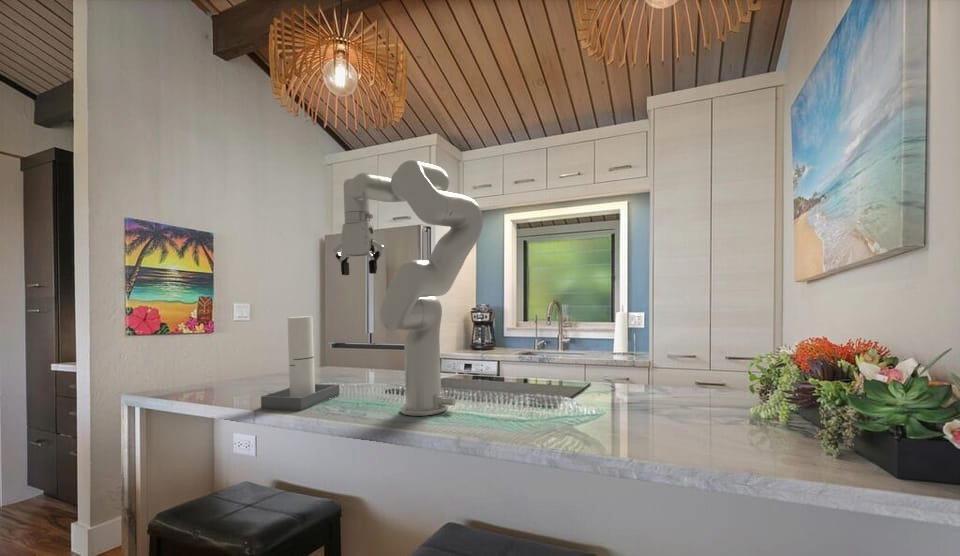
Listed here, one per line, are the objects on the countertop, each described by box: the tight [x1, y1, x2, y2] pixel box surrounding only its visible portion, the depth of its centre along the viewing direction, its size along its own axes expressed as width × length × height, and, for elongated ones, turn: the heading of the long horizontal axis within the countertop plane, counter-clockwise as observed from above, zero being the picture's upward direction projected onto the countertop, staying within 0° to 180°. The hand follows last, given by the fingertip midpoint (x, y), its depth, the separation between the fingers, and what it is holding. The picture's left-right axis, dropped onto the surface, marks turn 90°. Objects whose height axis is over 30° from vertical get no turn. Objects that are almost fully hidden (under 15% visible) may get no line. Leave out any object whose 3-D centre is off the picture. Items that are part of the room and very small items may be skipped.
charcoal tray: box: [260, 383, 340, 412], centre depth 139 cm, size 14×18×4 cm
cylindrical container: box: [287, 315, 316, 397], centre depth 140 cm, size 7×7×25 cm
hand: (359, 274), depth 142 cm, fingers open, 9 cm apart
